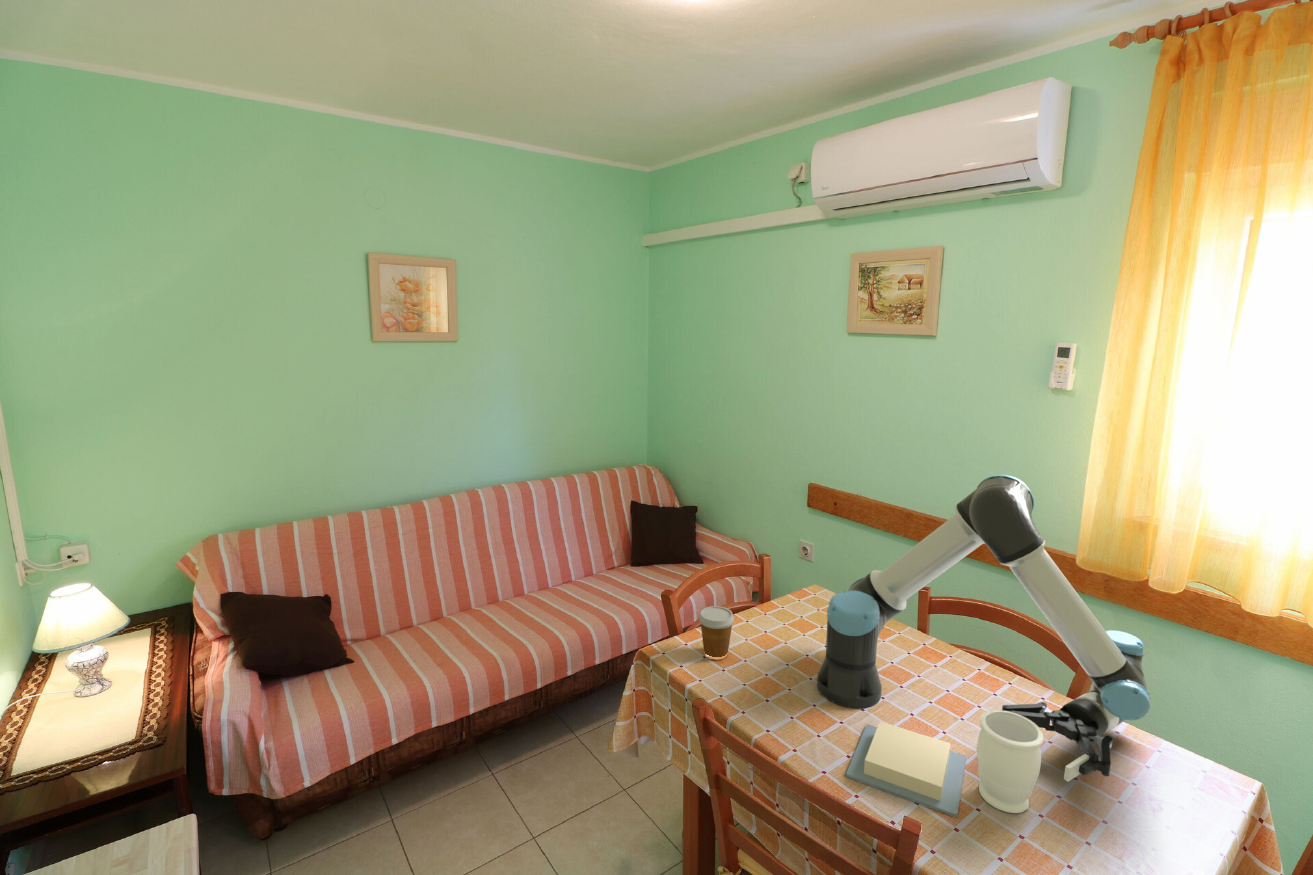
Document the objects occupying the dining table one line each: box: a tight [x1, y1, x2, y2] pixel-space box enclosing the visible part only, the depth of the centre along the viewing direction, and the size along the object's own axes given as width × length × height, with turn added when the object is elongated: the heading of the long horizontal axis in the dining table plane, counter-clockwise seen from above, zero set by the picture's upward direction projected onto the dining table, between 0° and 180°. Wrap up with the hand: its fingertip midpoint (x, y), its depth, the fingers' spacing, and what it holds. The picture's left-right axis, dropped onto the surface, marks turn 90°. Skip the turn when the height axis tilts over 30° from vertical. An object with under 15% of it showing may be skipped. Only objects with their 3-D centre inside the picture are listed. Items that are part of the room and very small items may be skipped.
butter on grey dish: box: [845, 720, 967, 818], centre depth 124 cm, size 20×18×4 cm
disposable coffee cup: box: [698, 605, 735, 657], centre depth 166 cm, size 10×10×12 cm
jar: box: [976, 709, 1045, 814], centre depth 116 cm, size 11×10×15 cm
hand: (1029, 751), depth 118 cm, fingers open, 13 cm apart
